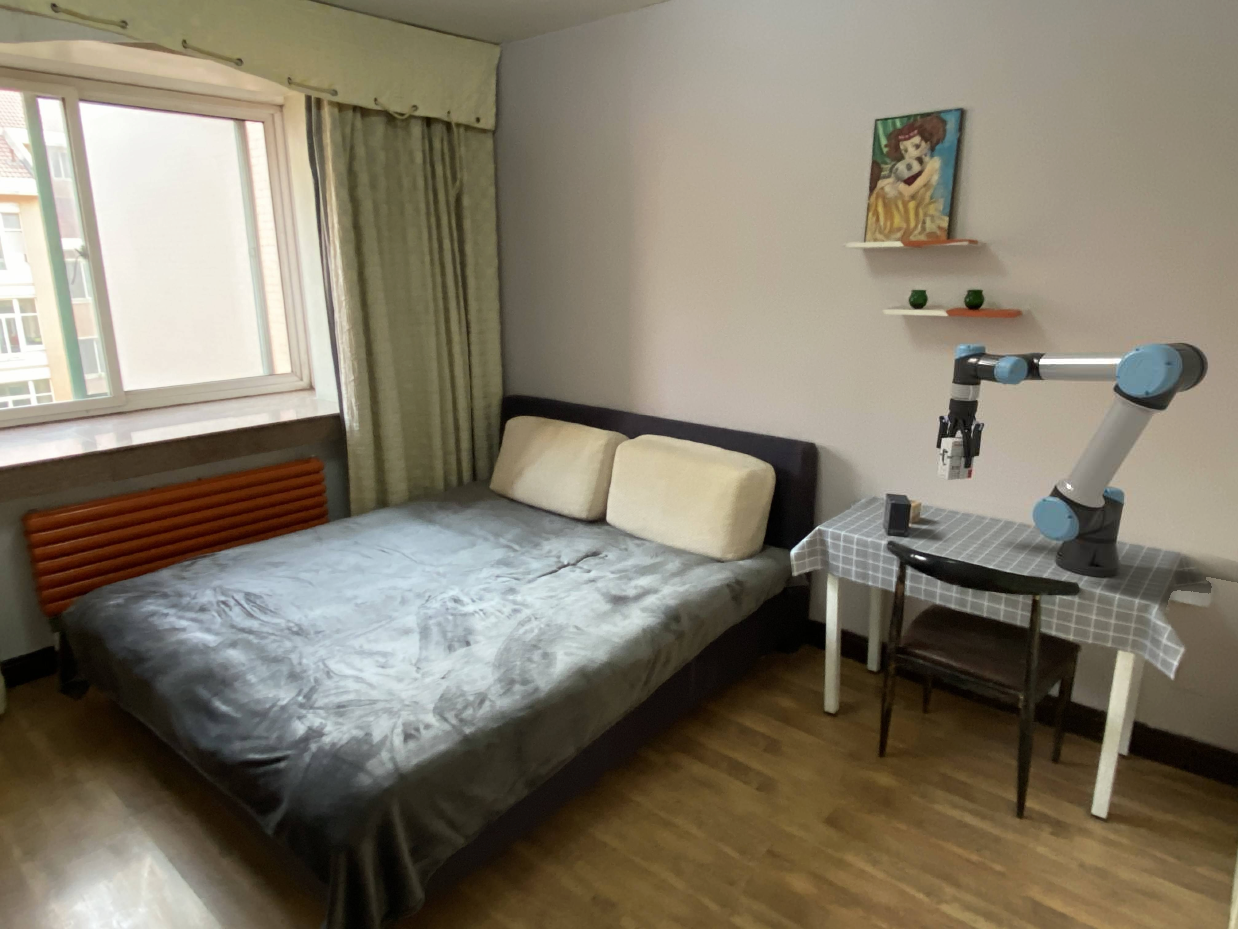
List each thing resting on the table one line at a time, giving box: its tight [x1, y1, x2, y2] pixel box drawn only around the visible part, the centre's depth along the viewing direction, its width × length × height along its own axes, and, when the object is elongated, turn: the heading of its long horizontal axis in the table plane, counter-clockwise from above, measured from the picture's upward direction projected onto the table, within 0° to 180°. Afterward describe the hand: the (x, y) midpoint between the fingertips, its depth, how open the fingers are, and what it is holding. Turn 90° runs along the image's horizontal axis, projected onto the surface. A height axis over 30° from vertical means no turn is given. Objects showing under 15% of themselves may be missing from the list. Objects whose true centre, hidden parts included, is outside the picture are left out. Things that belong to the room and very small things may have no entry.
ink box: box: [937, 436, 975, 481], centre depth 224 cm, size 9×5×12 cm, turn 108°
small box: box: [882, 493, 911, 537], centre depth 235 cm, size 11×6×10 cm, turn 168°
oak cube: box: [909, 499, 922, 525], centre depth 246 cm, size 6×6×6 cm
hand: (953, 475), depth 226 cm, fingers closed on ink box, 5 cm apart
